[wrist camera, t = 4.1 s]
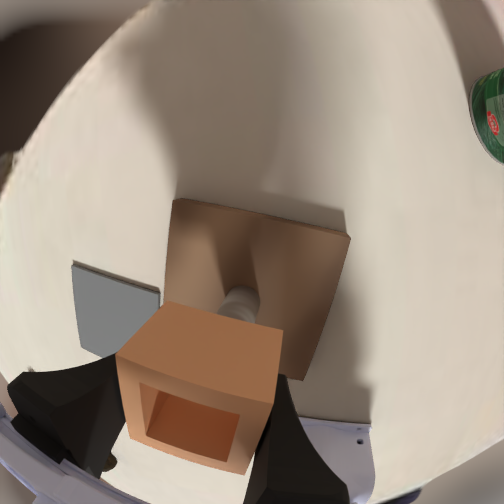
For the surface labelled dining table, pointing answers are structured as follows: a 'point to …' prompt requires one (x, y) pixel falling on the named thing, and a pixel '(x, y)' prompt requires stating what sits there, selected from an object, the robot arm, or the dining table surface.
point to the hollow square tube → (199, 385)
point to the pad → (109, 310)
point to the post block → (256, 272)
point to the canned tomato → (489, 113)
